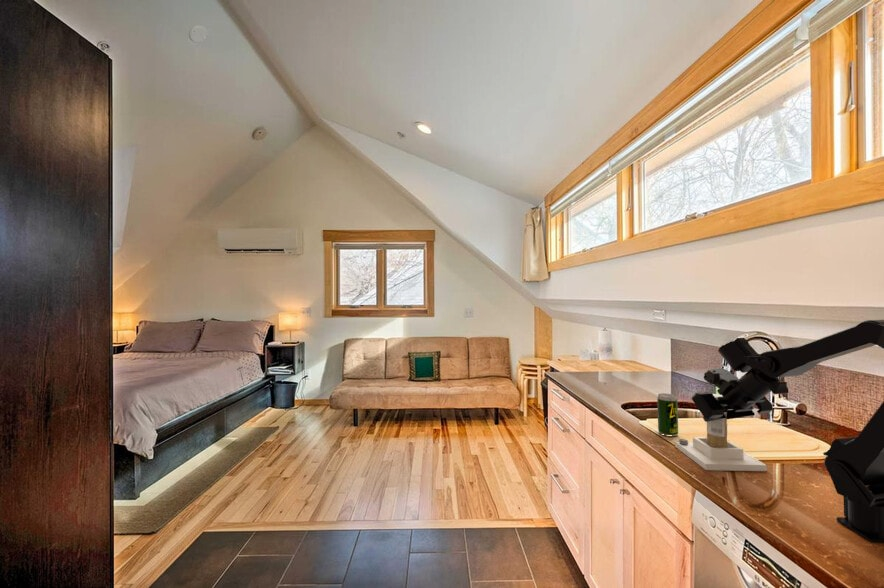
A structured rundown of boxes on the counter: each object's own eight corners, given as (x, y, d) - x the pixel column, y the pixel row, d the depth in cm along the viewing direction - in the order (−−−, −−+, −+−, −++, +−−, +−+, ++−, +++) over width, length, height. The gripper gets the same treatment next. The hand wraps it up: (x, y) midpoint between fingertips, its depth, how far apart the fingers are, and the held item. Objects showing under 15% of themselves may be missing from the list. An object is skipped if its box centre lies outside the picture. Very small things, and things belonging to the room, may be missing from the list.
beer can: (654, 432, 116) (653, 394, 116) (664, 429, 119) (663, 392, 119) (671, 438, 111) (670, 398, 111) (682, 435, 114) (681, 396, 114)
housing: (766, 471, 90) (766, 454, 90) (705, 470, 91) (705, 453, 91) (727, 447, 104) (727, 433, 104) (675, 446, 105) (675, 432, 105)
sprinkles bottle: (730, 447, 97) (730, 396, 97) (723, 451, 94) (723, 398, 94) (710, 441, 101) (710, 392, 101) (702, 445, 98) (703, 394, 98)
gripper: (759, 358, 96) (721, 390, 106) (696, 361, 92) (664, 395, 103) (794, 396, 88) (749, 427, 98) (727, 401, 84) (688, 433, 95)
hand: (712, 419), depth 99 cm, fingers closed on sprinkles bottle, 4 cm apart
